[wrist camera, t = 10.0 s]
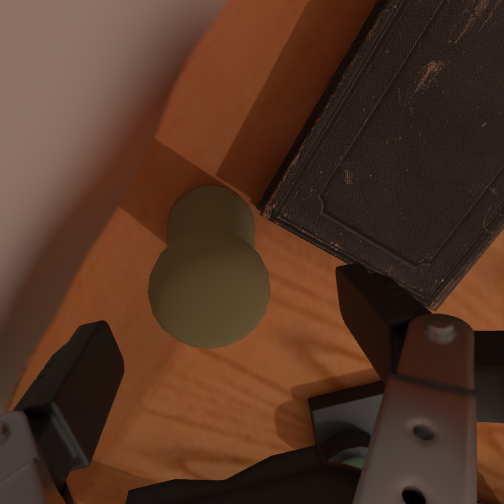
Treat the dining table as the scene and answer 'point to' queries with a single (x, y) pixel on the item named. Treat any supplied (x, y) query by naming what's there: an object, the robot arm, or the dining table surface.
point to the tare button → (355, 462)
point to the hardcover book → (405, 148)
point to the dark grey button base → (345, 421)
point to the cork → (209, 271)
